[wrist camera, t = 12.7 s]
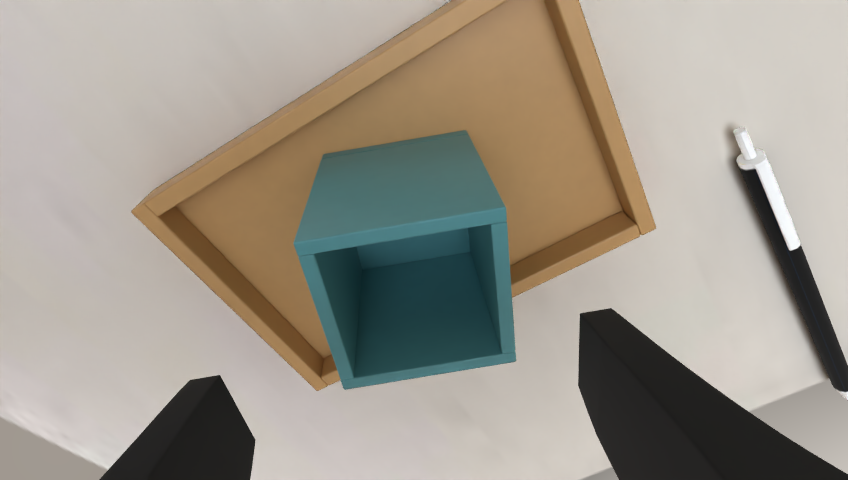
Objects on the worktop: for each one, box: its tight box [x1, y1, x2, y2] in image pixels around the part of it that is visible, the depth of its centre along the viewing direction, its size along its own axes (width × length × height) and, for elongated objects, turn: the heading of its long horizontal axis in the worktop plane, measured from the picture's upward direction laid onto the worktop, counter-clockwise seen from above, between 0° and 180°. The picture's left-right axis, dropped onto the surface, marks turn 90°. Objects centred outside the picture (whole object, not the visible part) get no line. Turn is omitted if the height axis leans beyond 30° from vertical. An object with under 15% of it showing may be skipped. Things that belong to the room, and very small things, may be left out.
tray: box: [131, 0, 656, 391], centre depth 17 cm, size 15×10×2 cm
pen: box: [734, 127, 848, 401], centre depth 20 cm, size 1×19×1 cm, turn 38°
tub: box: [293, 130, 516, 390], centre depth 14 cm, size 5×5×6 cm
